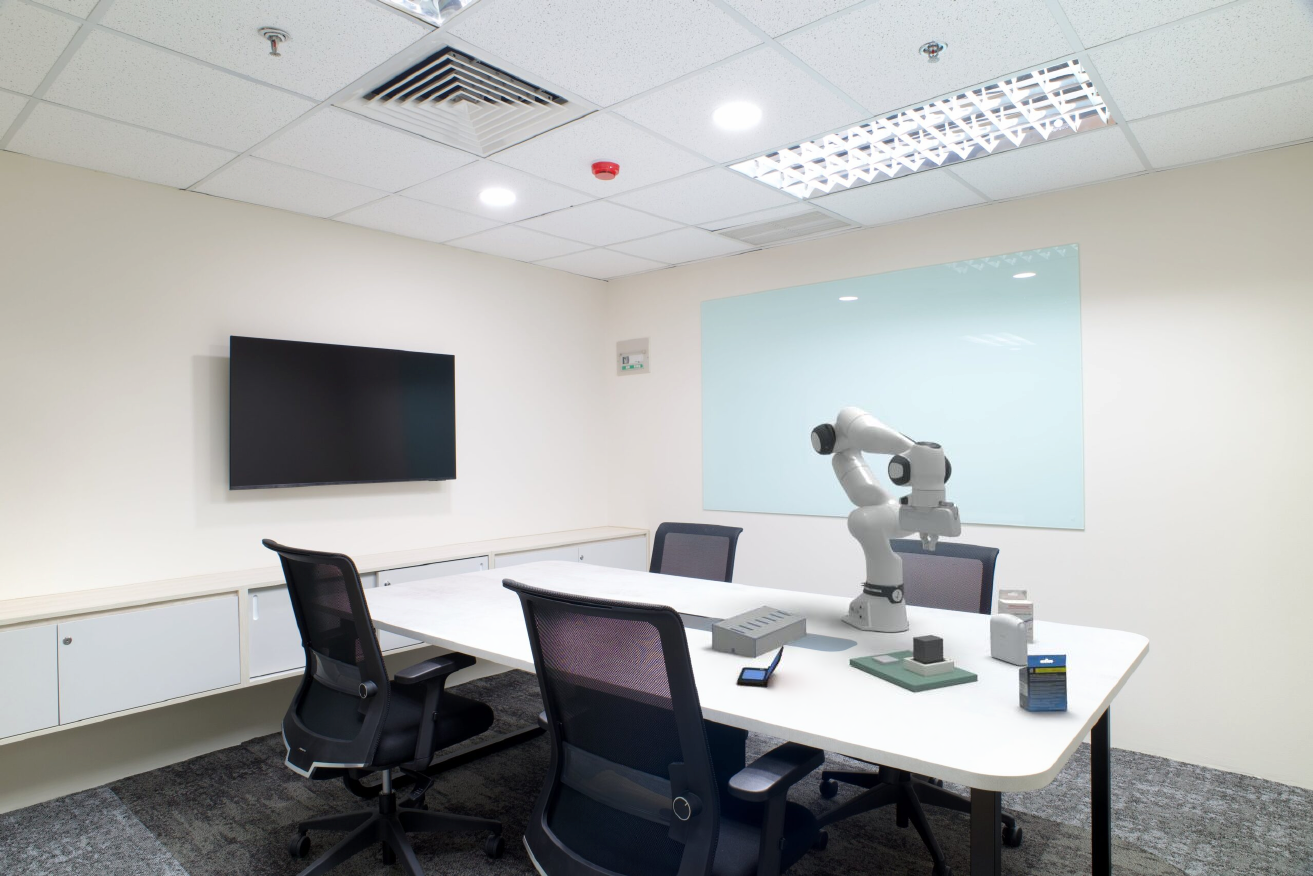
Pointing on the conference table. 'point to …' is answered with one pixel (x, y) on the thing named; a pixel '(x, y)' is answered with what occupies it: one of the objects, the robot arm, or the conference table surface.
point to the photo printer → (1008, 639)
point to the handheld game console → (758, 673)
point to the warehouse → (757, 631)
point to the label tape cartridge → (1043, 683)
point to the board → (913, 671)
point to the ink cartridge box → (1017, 608)
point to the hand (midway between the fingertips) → (929, 550)
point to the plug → (928, 649)
